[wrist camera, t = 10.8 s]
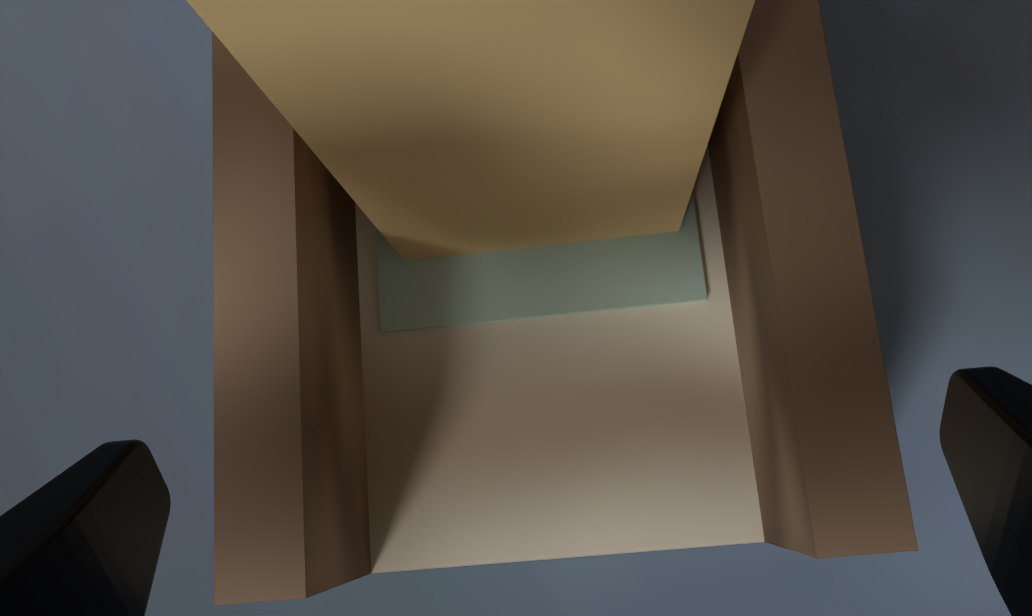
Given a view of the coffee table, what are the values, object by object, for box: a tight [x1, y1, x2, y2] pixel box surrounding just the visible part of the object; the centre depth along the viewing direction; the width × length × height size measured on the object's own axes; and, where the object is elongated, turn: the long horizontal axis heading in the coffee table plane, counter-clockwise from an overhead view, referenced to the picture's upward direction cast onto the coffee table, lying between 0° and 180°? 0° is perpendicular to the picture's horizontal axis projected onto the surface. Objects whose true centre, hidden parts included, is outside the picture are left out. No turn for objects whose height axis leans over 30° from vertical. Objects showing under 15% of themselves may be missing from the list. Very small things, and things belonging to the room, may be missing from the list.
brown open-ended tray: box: [212, 0, 918, 605], centre depth 17 cm, size 18×13×5 cm
